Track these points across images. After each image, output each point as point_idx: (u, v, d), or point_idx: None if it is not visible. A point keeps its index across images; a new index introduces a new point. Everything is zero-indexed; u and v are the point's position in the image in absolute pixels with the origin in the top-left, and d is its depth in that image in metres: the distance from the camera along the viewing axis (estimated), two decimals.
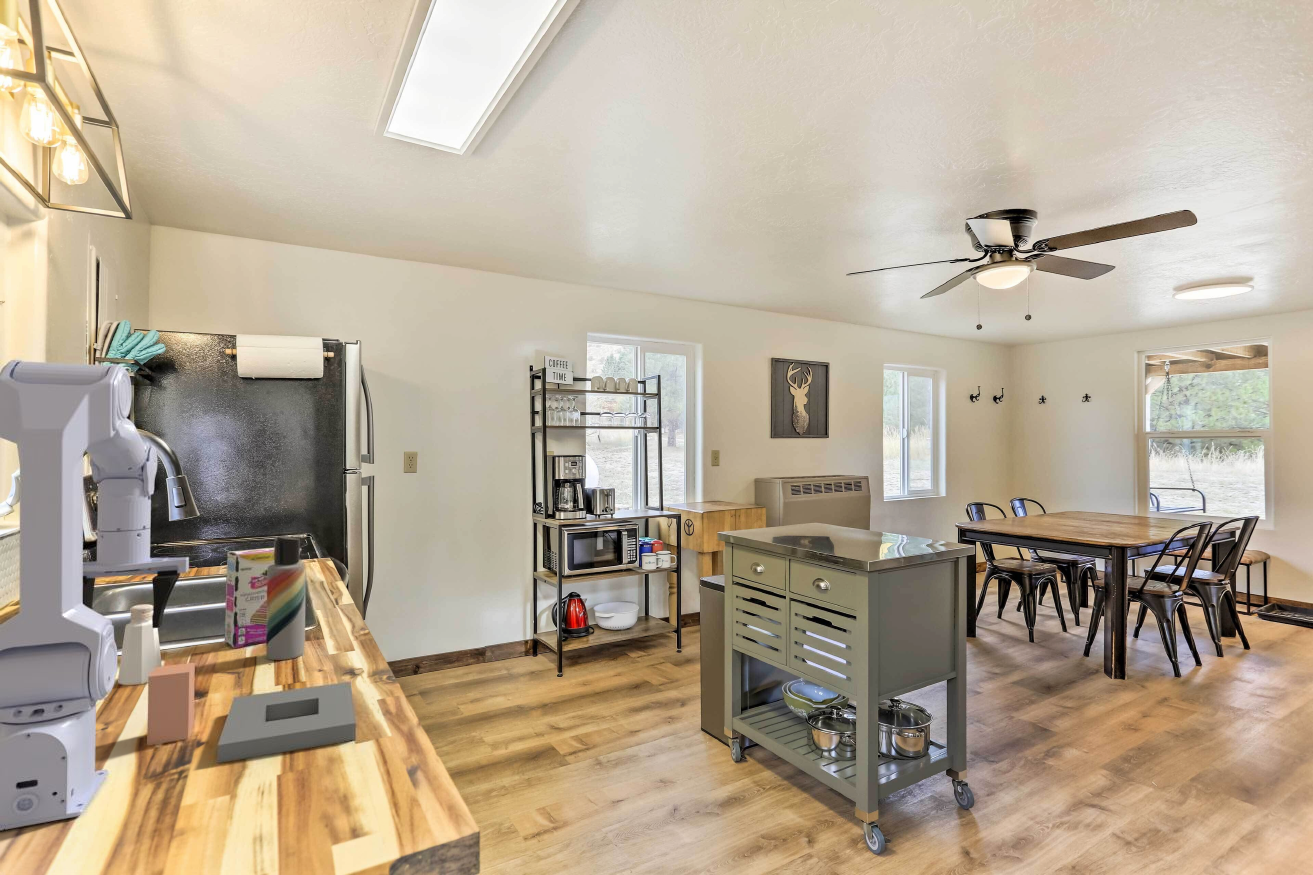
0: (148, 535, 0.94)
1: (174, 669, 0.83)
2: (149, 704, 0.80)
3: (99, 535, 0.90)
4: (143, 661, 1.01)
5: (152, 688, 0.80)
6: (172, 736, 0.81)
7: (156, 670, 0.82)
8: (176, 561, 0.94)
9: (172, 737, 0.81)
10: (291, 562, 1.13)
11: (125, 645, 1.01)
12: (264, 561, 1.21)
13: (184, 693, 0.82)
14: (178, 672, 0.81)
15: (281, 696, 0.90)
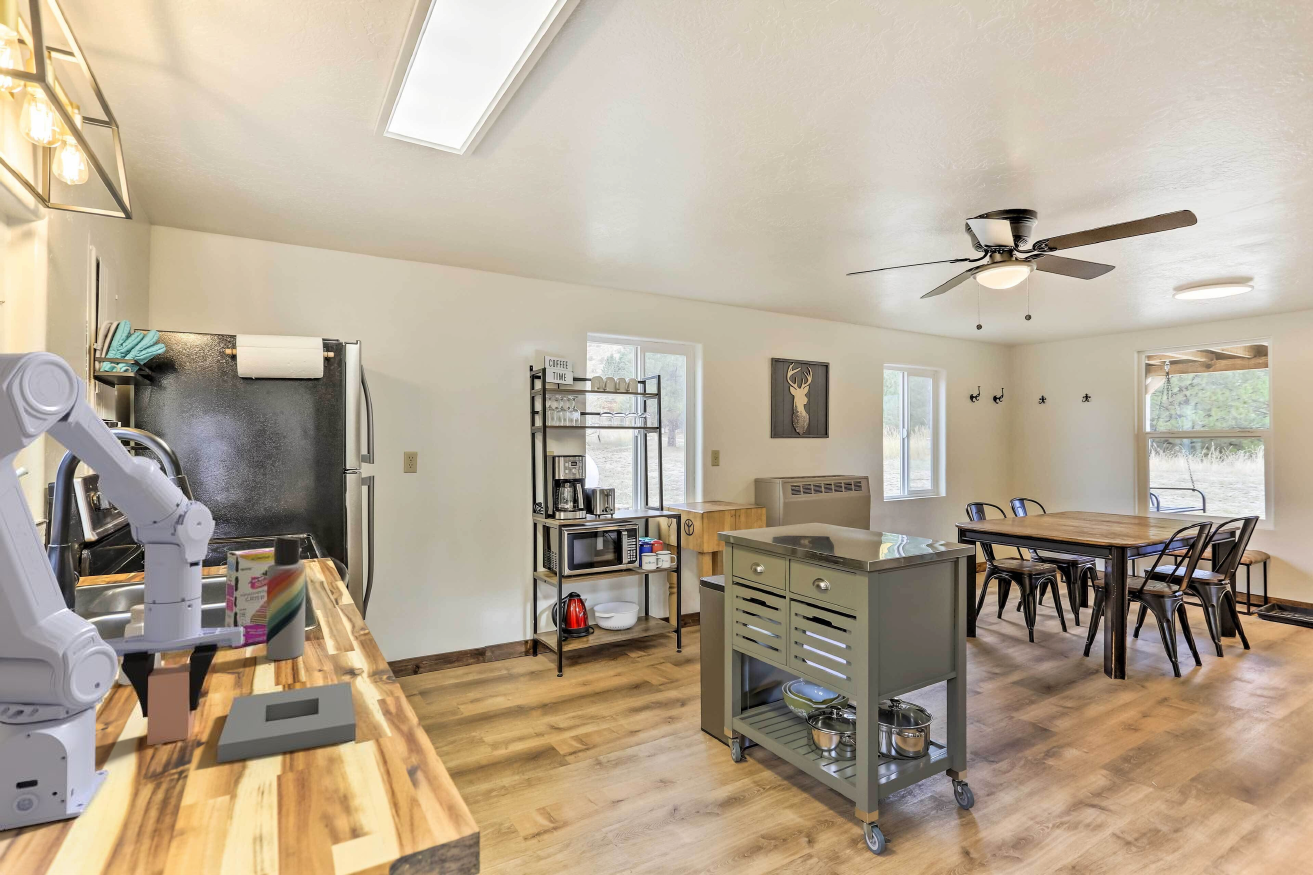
0: (199, 604, 0.84)
1: (174, 669, 0.83)
2: (149, 704, 0.80)
3: (146, 607, 0.80)
4: None
5: (152, 688, 0.80)
6: (172, 736, 0.81)
7: (156, 669, 0.82)
8: (230, 633, 0.84)
9: (172, 737, 0.81)
10: (291, 562, 1.13)
11: None
12: (264, 561, 1.21)
13: (184, 693, 0.82)
14: (178, 672, 0.81)
15: (281, 696, 0.90)
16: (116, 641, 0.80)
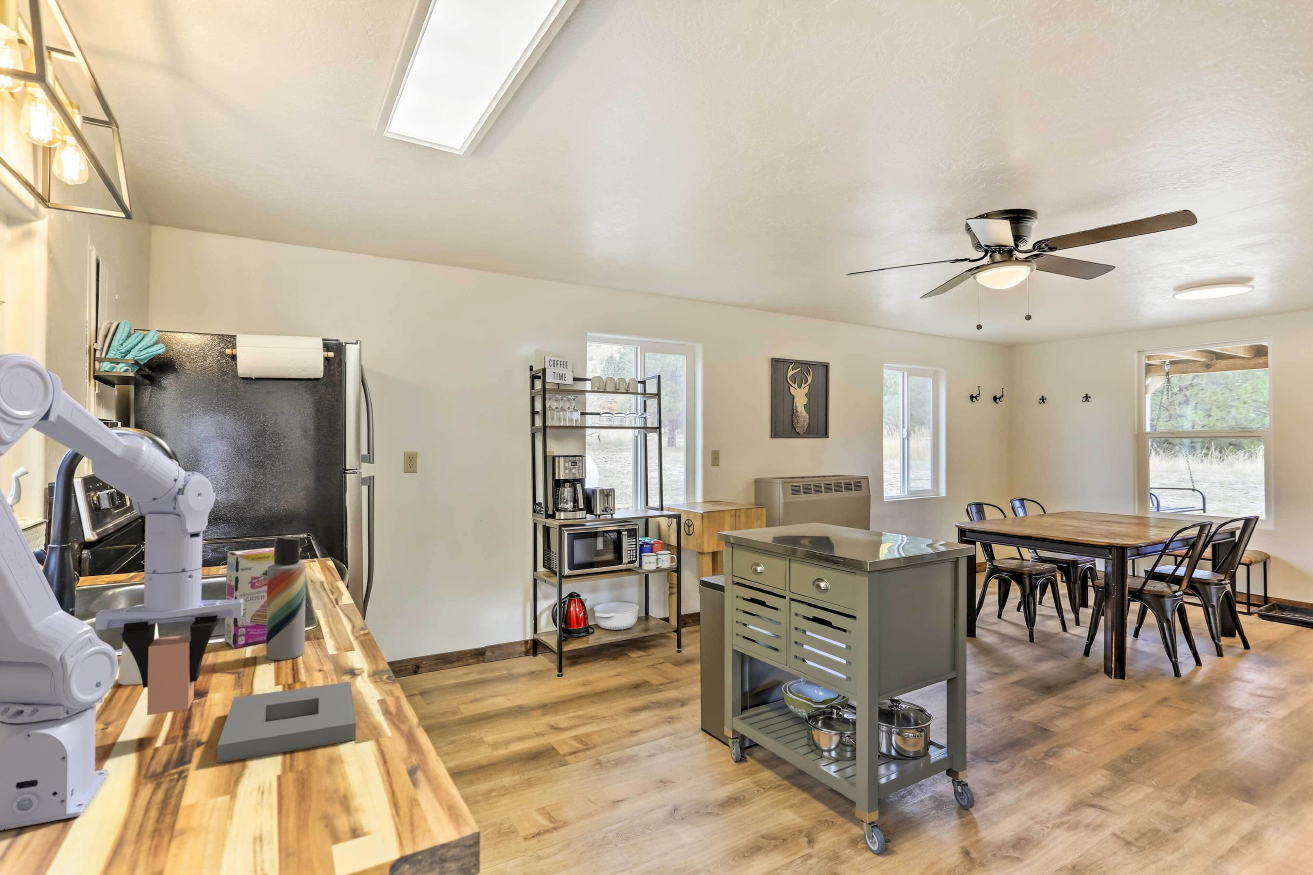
0: (200, 576, 0.84)
1: (174, 640, 0.83)
2: (149, 674, 0.80)
3: (147, 577, 0.80)
4: None
5: (152, 658, 0.80)
6: (172, 706, 0.81)
7: (156, 640, 0.82)
8: (230, 604, 0.85)
9: (172, 707, 0.81)
10: (291, 562, 1.13)
11: (125, 645, 1.01)
12: (264, 561, 1.21)
13: (184, 664, 0.82)
14: (178, 643, 0.81)
15: (281, 696, 0.90)
16: (116, 611, 0.80)
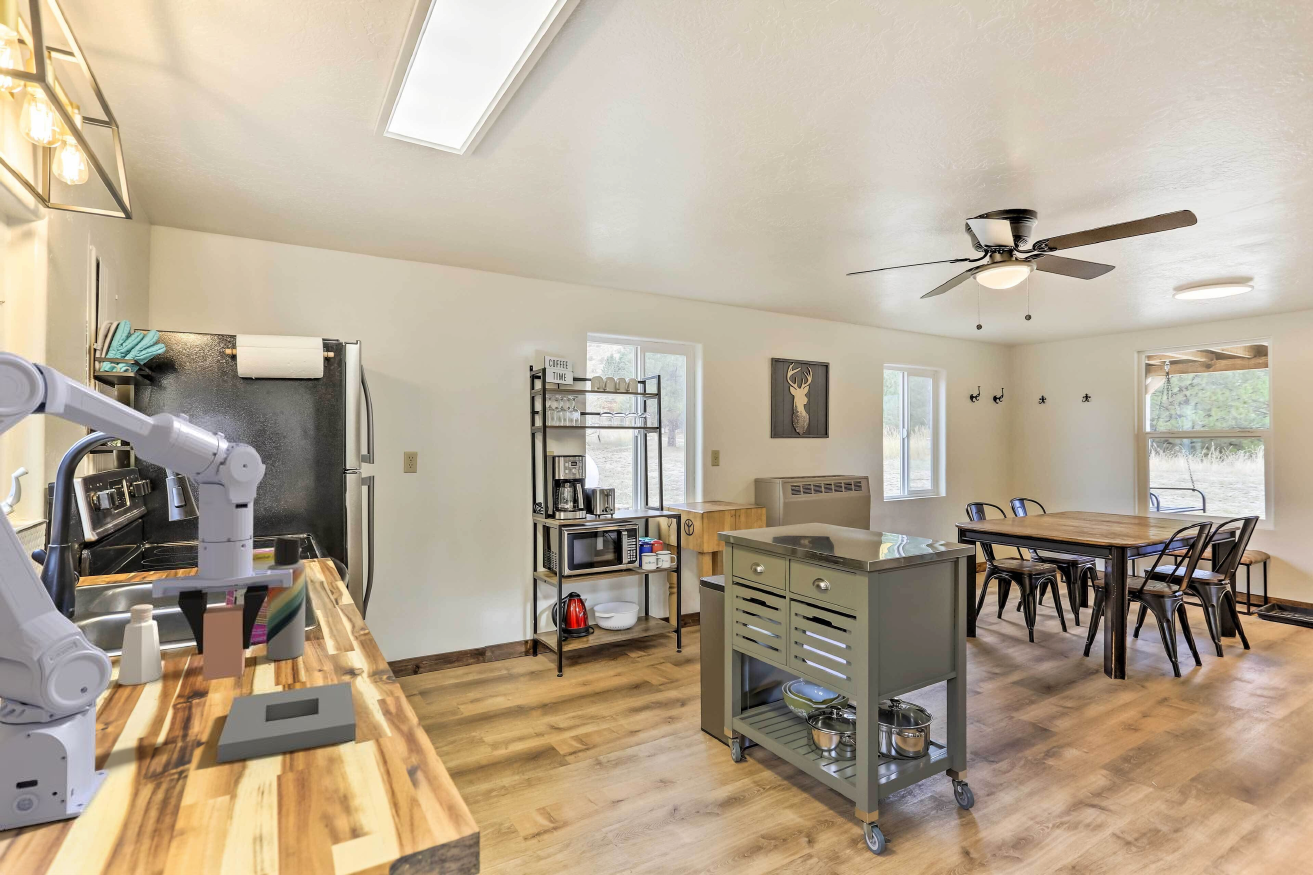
0: (251, 546, 0.85)
1: (227, 608, 0.84)
2: (204, 641, 0.82)
3: (201, 546, 0.82)
4: (143, 661, 1.01)
5: (207, 625, 0.82)
6: (226, 673, 0.82)
7: (210, 609, 0.84)
8: (281, 574, 0.86)
9: (226, 674, 0.83)
10: (291, 562, 1.13)
11: (125, 645, 1.01)
12: (264, 561, 1.21)
13: (238, 631, 0.83)
14: (232, 611, 0.83)
15: (281, 696, 0.90)
16: (172, 579, 0.82)
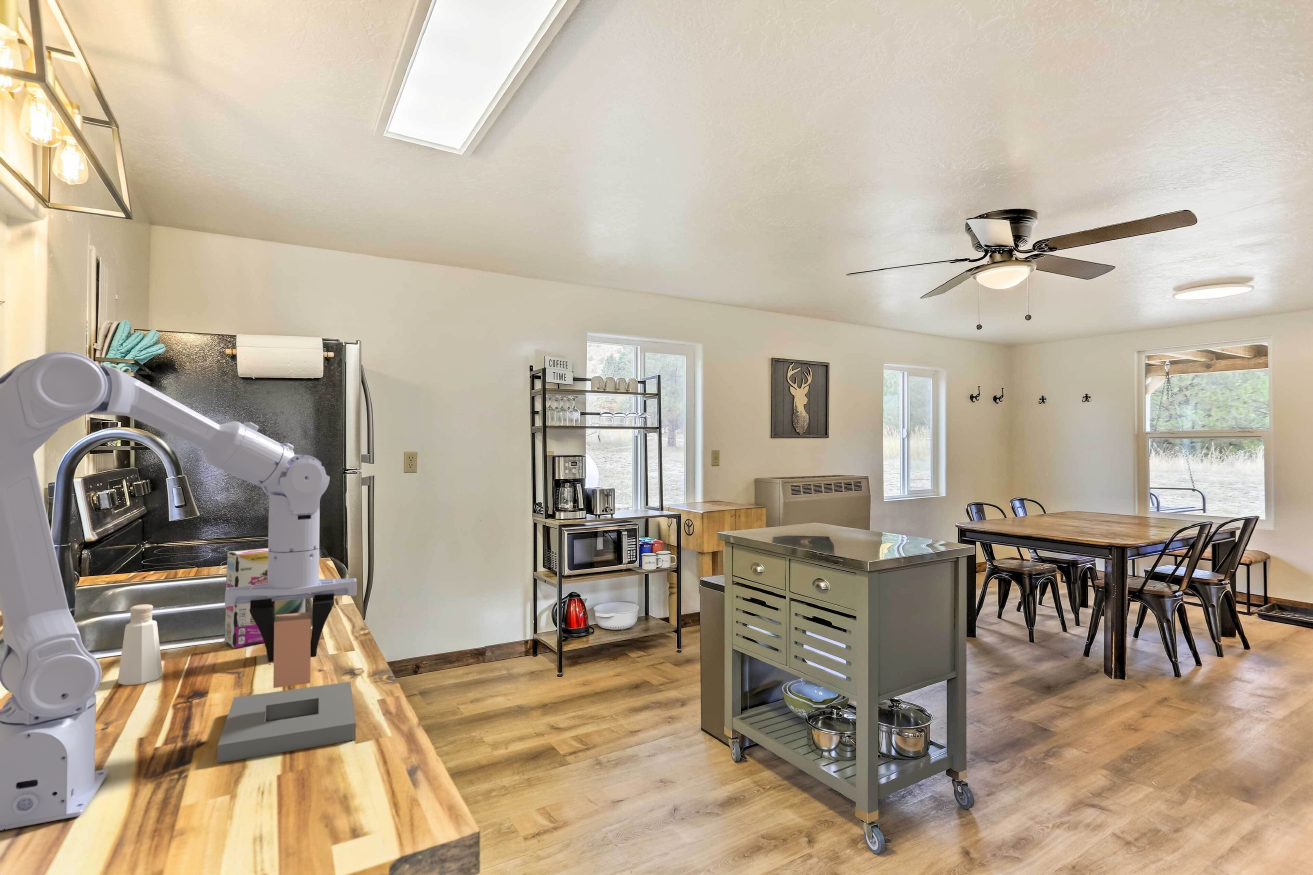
0: (318, 555, 0.87)
1: (295, 616, 0.86)
2: (275, 648, 0.83)
3: (272, 556, 0.83)
4: (143, 661, 1.01)
5: (277, 633, 0.83)
6: (296, 680, 0.84)
7: (278, 617, 0.86)
8: (347, 583, 0.88)
9: (296, 681, 0.84)
10: None
11: (125, 645, 1.01)
12: (264, 561, 1.21)
13: (306, 639, 0.85)
14: (300, 619, 0.85)
15: (281, 696, 0.90)
16: (243, 588, 0.83)
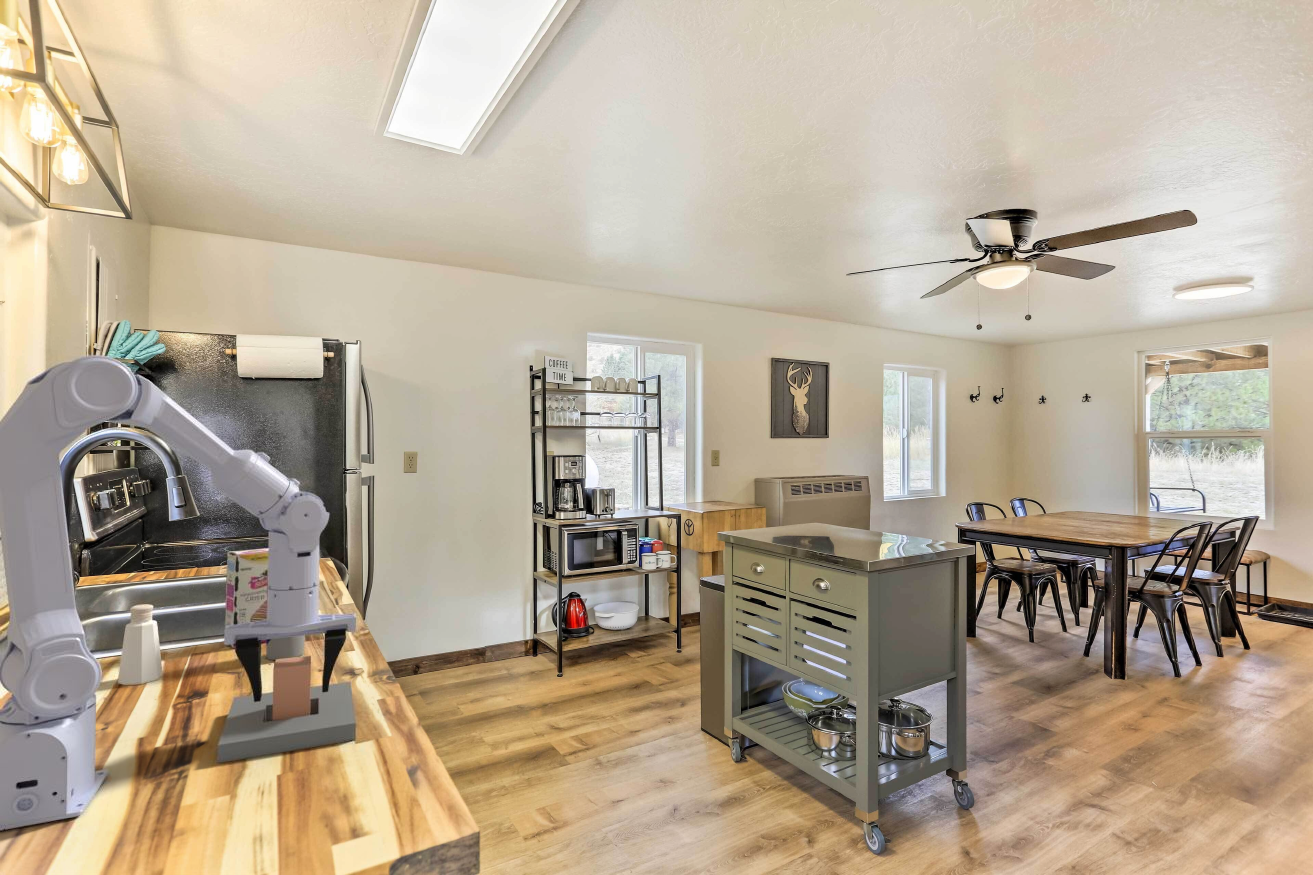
0: (318, 592, 0.87)
1: (294, 661, 0.86)
2: (274, 695, 0.83)
3: (271, 594, 0.83)
4: (143, 661, 1.01)
5: (277, 679, 0.83)
6: None
7: (278, 662, 0.86)
8: (346, 619, 0.88)
9: None
10: None
11: (125, 645, 1.01)
12: (264, 561, 1.21)
13: (306, 685, 0.85)
14: (300, 665, 0.84)
15: None
16: (242, 626, 0.83)
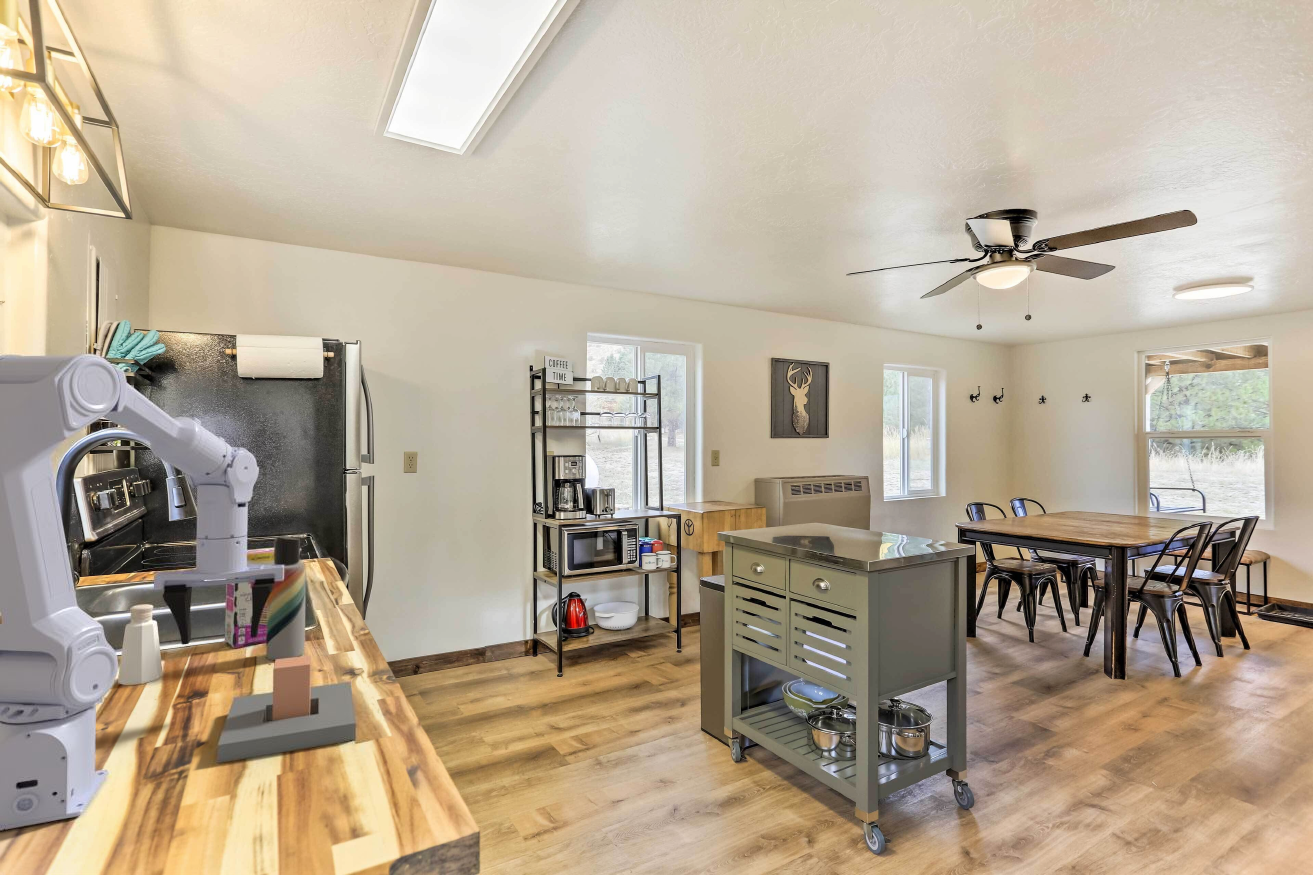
0: (246, 542, 0.92)
1: (294, 661, 0.86)
2: (274, 695, 0.83)
3: (199, 543, 0.88)
4: (143, 661, 1.01)
5: (276, 680, 0.83)
6: None
7: (278, 662, 0.86)
8: (273, 569, 0.92)
9: None
10: (291, 562, 1.13)
11: (125, 645, 1.01)
12: (264, 561, 1.21)
13: (306, 685, 0.85)
14: (300, 665, 0.84)
15: None
16: (172, 573, 0.88)
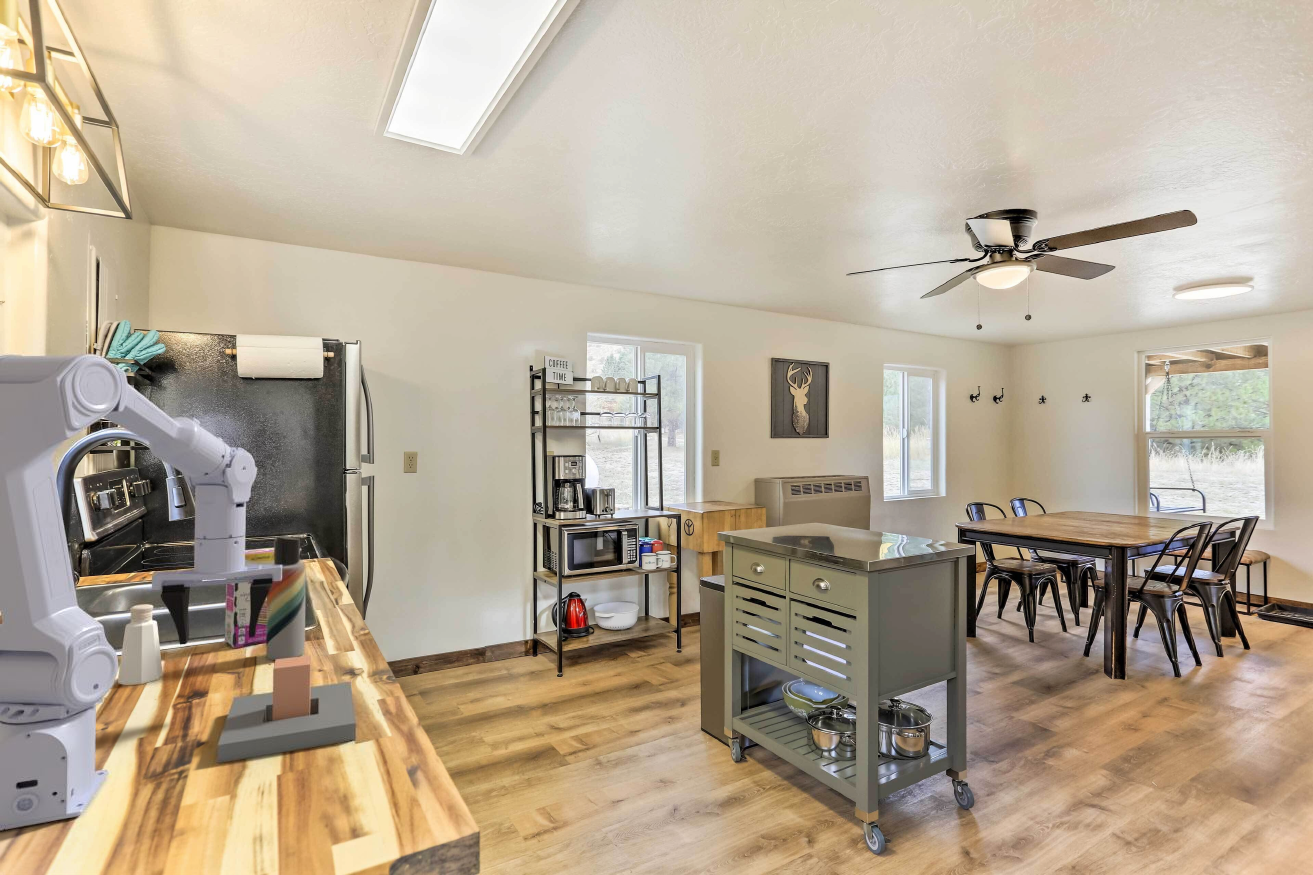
0: (244, 542, 0.92)
1: (294, 661, 0.86)
2: (274, 695, 0.83)
3: (197, 543, 0.88)
4: (143, 661, 1.01)
5: (276, 680, 0.83)
6: None
7: (278, 662, 0.86)
8: (271, 569, 0.93)
9: None
10: (291, 562, 1.13)
11: (125, 645, 1.01)
12: (264, 561, 1.21)
13: (306, 685, 0.85)
14: (300, 665, 0.84)
15: None
16: (170, 573, 0.88)
